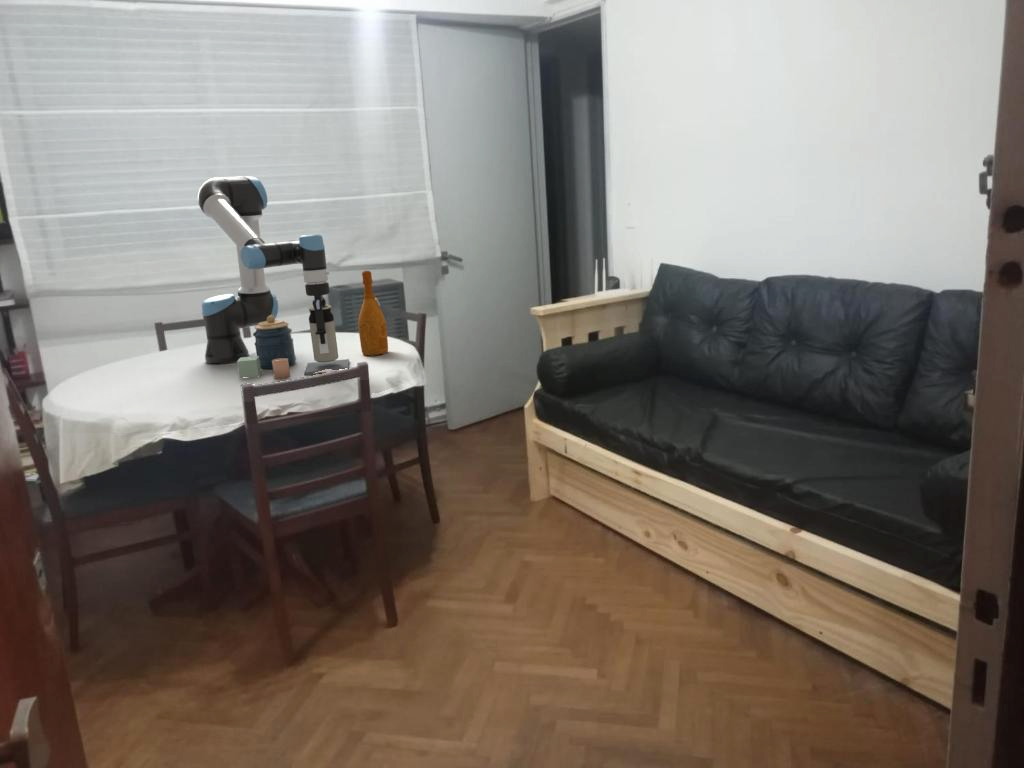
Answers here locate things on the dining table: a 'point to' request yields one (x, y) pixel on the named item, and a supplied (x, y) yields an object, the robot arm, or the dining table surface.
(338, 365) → the mat
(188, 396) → the dining table surface
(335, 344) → the travel mug
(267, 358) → the canister
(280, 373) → the salmon block
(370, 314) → the wine bottle
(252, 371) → the sage block
